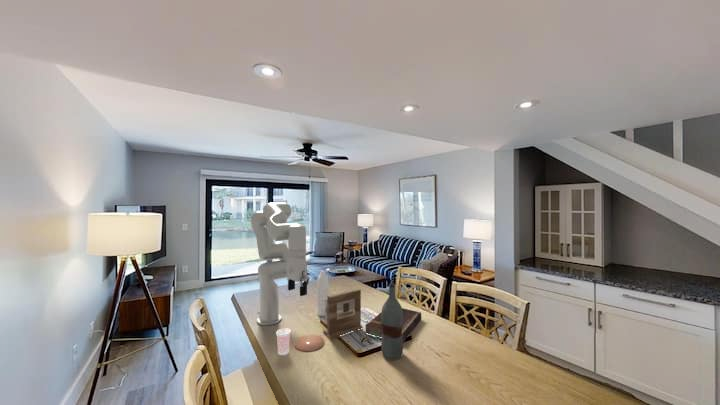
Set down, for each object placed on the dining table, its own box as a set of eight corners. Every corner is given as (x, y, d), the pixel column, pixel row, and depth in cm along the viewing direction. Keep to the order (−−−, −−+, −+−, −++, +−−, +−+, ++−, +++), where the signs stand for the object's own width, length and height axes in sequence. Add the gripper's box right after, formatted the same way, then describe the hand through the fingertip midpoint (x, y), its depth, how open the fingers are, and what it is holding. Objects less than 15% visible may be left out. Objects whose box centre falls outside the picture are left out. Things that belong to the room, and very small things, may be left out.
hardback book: (401, 345, 124) (402, 334, 124) (365, 335, 133) (365, 325, 133) (421, 321, 149) (421, 311, 149) (389, 313, 158) (389, 305, 158)
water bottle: (323, 317, 152) (323, 272, 152) (314, 314, 156) (314, 270, 156) (333, 312, 159) (333, 269, 159) (325, 309, 163) (325, 267, 163)
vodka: (387, 363, 110) (387, 288, 110) (377, 351, 118) (377, 282, 118) (407, 357, 114) (407, 285, 113) (396, 346, 122) (396, 279, 122)
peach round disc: (288, 345, 124) (288, 343, 124) (309, 333, 134) (309, 332, 134) (309, 354, 116) (309, 352, 116) (329, 341, 127) (329, 340, 127)
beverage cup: (285, 346, 122) (285, 315, 122) (293, 351, 119) (293, 319, 118) (273, 352, 118) (273, 320, 118) (281, 357, 114) (281, 324, 114)
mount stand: (321, 331, 136) (321, 292, 136) (352, 322, 146) (352, 285, 146) (330, 339, 128) (330, 298, 128) (362, 329, 139) (362, 290, 138)
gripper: (279, 251, 123) (279, 289, 123) (300, 257, 111) (300, 300, 111) (294, 249, 128) (294, 285, 129) (315, 255, 116) (315, 295, 116)
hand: (297, 292), depth 120 cm, fingers open, 9 cm apart
